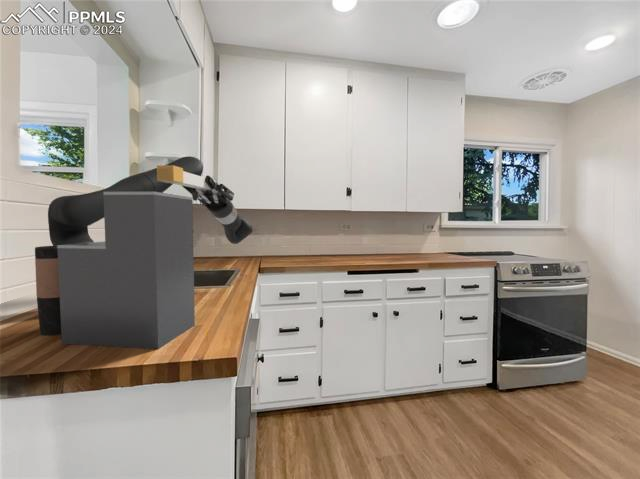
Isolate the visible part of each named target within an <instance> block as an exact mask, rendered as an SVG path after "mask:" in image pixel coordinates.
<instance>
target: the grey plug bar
mask: <svg viewBox="0 0 640 479" xmlns="http://www.w3.org/2000/svg"><path fill="white" fill-rule="evenodd" d="M164 165H165V166H164ZM164 165H156V168H157V181H161V182H166V183H172V184H173V185H177V186H181V185H182V186H187V187H191V188H196V189H201V190H212V188H211V189H210V187H209V186H208V185H207V183H206V182H205V179H206V176H202V175H201V176H198V175H195V174H191V173H188V172H184V171H183V168H180V167H177V166H174V165H167V164H164ZM213 180H214V179H213ZM214 182H215V183H216V180H214ZM182 186H181V187H182Z"/></svg>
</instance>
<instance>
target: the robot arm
mask: <svg viewBox="0 0 640 479" xmlns="http://www.w3.org/2000/svg"><path fill="white" fill-rule="evenodd" d="M165 165H174V166H177V167H180V168H183V171H184V172H188V173H191V174H195V175H198V176H202V175H203V171H204V165H203V162H202V161H201V160H200V159H199V158H197V157H195V156H189V155H188V156H181V157H180V158H177V159H176V160H173V161H172V162H168V163H167V164H164V165H163V166H165ZM205 178H206V179H205V182H206V183H207V185H208V186H209V187H210V189H211V188H212V190H201V189H196V188H191V187H187V186H182V185H180V186H181V187H182V188H183V189H185V190H186V191H187V192H188V193H189V194H191V197H192V201H196V202H197V200H198V202H200V203H201V204H202V205H204V207H205V208H206V209H207V210H208V211H209V212H210V214H211V215H212V216H213V217H214V218H215V219H216V221H218V223H220V224H221V225H222V227H223V229H224V236H225V237H226V239H227V241H228V242H230V243H231V244H233V245H238V244H240V243H241V242H242V241H244V240H245V239H246V238H247V237H249V236H250V235H251V234H252V233H253V231H254V230H253V226H252V224H251V223H250V222H249V221H248V220H246V219H245V218H244V217H241V216H240V215H239V212H238V211H237V209H236V207H235V206H234V204H233V203H232V201H233V200H234V196H235V193H234V192H233V191H232V190H231V189H230V188H228V186H226V185H225V184H223V183H219V184H218V183H217V182H216V181H215V182H214V179H213V177H211V176H210V175H206V176H205ZM172 185H174V184H172V183H166V182H161V181H157V167H156V168H153V169H150V170H147V171H144V172H139V173H136V174H133V175H129V176H127V177H124V178H122V179H120V180H119V181H116V183H113V184H112V185H110V186H108V187H106V188H103V189H101V190H100V189H99V190H95V191H92V192H88V193H87V192H86V193H82V194H72V195H63V196H59V197H55V198H54V199H53V200H52V201H51V202H50V204H49V206H48V208H47V221H48V223H47V224H48V233H49V239H50V242H51V244H52V245H51V246H57V245H65V244H78V243H91V242H95V241H94V240H93V239H92V238H91V236H90V235H89V228H88V227H89V226H91V225H93V224H95V223H97V222H99V221H101V220H102V219H104V193H103V192H160V193H165V191H167V190H168V189H169V188H171V186H172Z"/></svg>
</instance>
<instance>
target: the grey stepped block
mask: <svg viewBox="0 0 640 479" xmlns="http://www.w3.org/2000/svg"><path fill="white" fill-rule="evenodd" d="M103 193H104V218H103V220H104V239H105V240H104V241H96V242H95V241H94V242H91V243H78V244H65V245H57V250H58V271H59V293H60V314H61V334H60V335H61V344H65V345H82V346H98V347H99V346H101V347H117V348H118V347H119V348H132V349H133V348H135V349H150V350H153V349H154V350H159V349H160V348H163V346H165V345H167V344H168V343H170V342H171V341H173V340H174V339H176V338H178V337H179V336H180V335H182V334H184V333H185V332H186V331H188V330H190V329H192V328H193V327H194V326H195V324H196V323H195V322H196V320H195V317H196V316H195V310H196V309H195V269H194V268H195V267H194V265H195V264H194V263H195V260H194V257H195V256H194V223H193V222H194V214H193V211H194V210H193V204H194V202H193V197H192V196H185V195H179V194H173V193H165V192H163V193H160V192H103Z"/></svg>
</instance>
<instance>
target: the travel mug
mask: <svg viewBox="0 0 640 479" xmlns="http://www.w3.org/2000/svg"><path fill="white" fill-rule="evenodd" d="M34 264H35V284H36V285H35V288H36V291H35V292H36V301H37V302H36V303H37V315H38V325H39V326H38V327H39V334H41V335H42V336H55V335H61V314H60V293H59V271H58V250H57V246H53V245H43V246H42V245H41V246H35V247H34Z"/></svg>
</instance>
